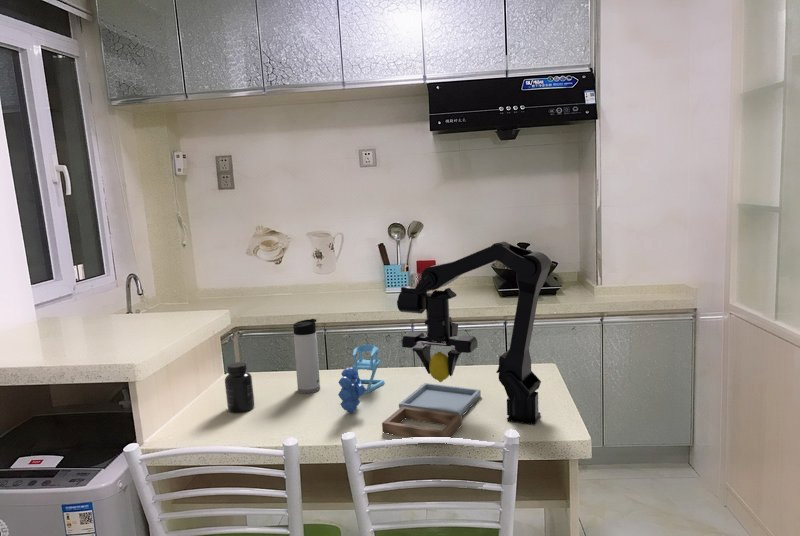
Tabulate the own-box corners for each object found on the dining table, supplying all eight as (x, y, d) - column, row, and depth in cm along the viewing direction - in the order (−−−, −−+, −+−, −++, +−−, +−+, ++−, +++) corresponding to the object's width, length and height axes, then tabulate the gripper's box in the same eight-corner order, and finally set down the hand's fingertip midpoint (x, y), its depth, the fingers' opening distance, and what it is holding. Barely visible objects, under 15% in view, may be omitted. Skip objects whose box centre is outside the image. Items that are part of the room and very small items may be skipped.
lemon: (450, 386, 140) (448, 355, 139) (428, 385, 141) (426, 355, 140) (452, 378, 145) (451, 348, 144) (431, 378, 147) (430, 348, 145)
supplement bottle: (246, 401, 152) (242, 358, 150) (259, 407, 147) (255, 363, 145) (222, 409, 147) (218, 365, 145) (235, 415, 142) (231, 370, 141)
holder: (462, 425, 130) (461, 415, 130) (445, 444, 121) (444, 433, 121) (402, 416, 137) (402, 406, 137) (382, 433, 128) (382, 422, 128)
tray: (480, 396, 148) (480, 389, 147) (459, 419, 134) (459, 412, 133) (425, 389, 155) (424, 383, 155) (399, 410, 141) (399, 403, 140)
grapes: (361, 422, 134) (358, 374, 133) (334, 421, 136) (331, 373, 134) (373, 404, 146) (371, 359, 144) (348, 403, 147) (346, 359, 145)
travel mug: (325, 389, 158) (320, 320, 155) (303, 395, 155) (298, 324, 152) (315, 383, 163) (310, 316, 161) (294, 389, 160) (289, 320, 157)
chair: (350, 392, 155) (347, 350, 154) (359, 381, 163) (356, 342, 162) (376, 393, 154) (374, 351, 152) (384, 382, 162) (382, 342, 160)
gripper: (483, 309, 144) (485, 368, 146) (417, 306, 152) (420, 362, 154) (468, 319, 134) (471, 382, 136) (399, 315, 142) (402, 374, 145)
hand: (440, 374), depth 143 cm, fingers closed on lemon, 5 cm apart
